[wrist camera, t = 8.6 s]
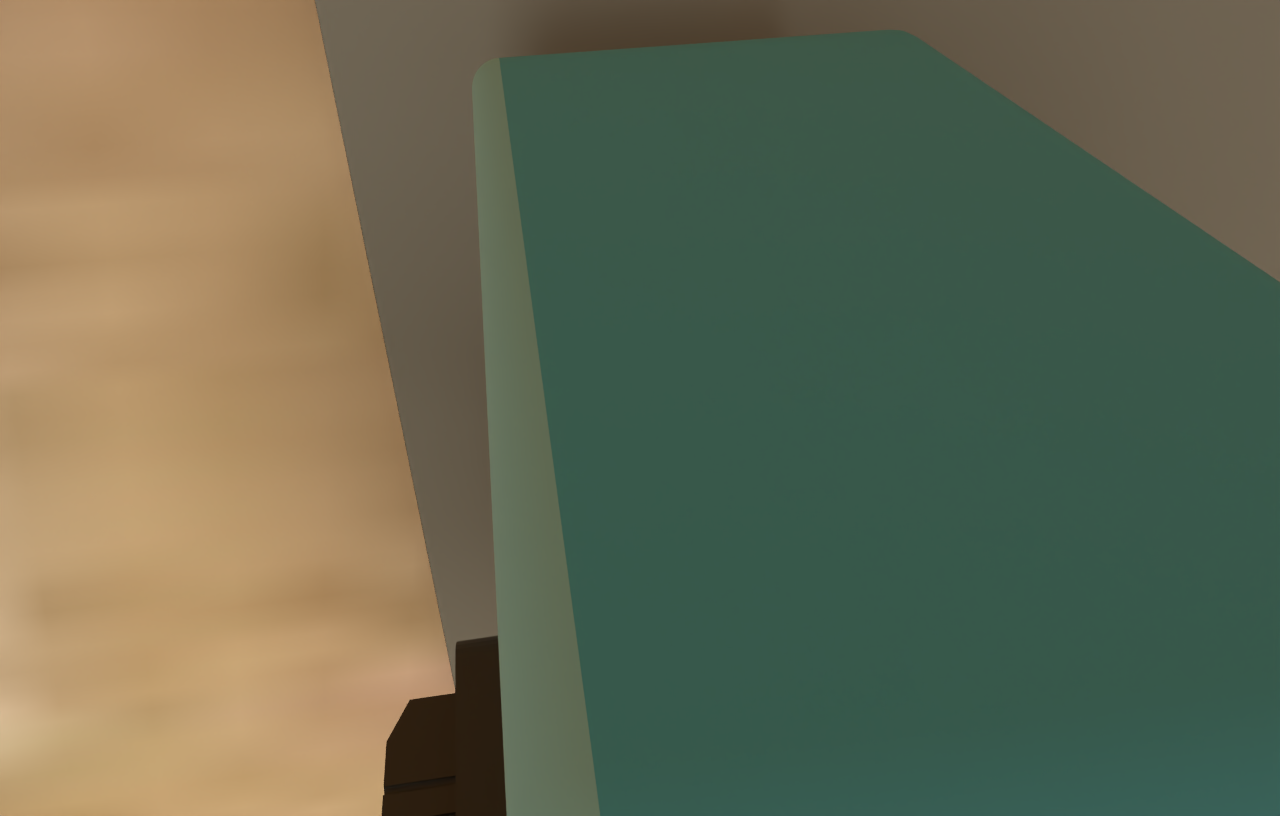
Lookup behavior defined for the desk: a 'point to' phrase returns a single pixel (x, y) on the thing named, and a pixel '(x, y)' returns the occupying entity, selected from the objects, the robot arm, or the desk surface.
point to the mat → (730, 11)
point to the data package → (864, 449)
